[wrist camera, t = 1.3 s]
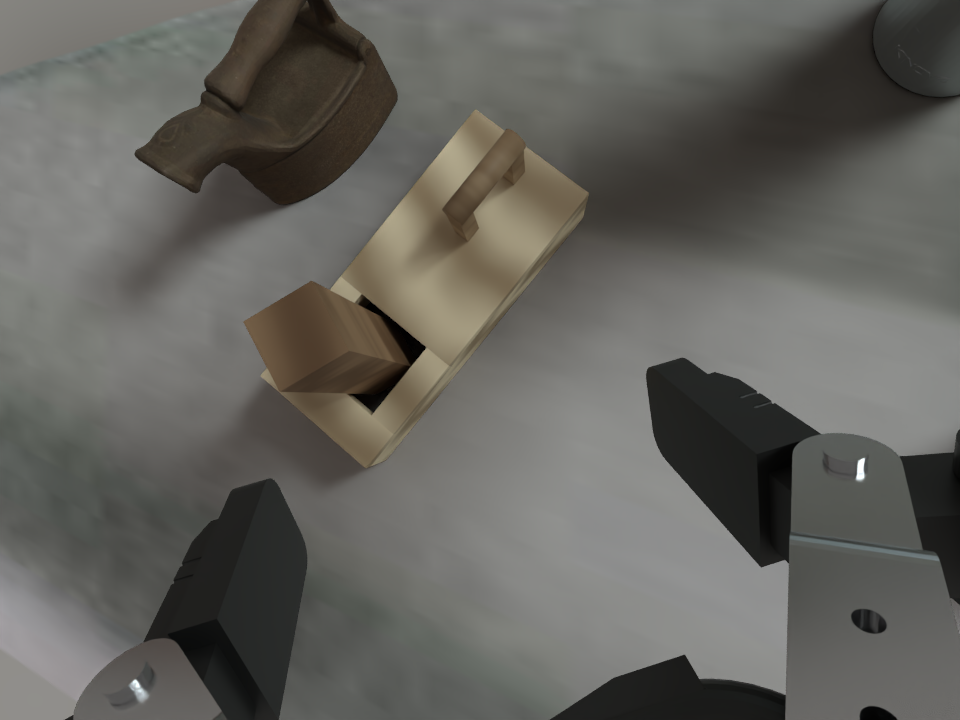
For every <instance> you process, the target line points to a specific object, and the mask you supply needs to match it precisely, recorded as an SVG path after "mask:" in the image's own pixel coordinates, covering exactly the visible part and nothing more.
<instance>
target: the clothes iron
mask: <svg viewBox="0 0 960 720" xmlns="http://www.w3.org/2000/svg"><path fill="white" fill-rule="evenodd" d="M306 1H307V2H306ZM204 84H205V87H206V91H204V92H203V93H202V94H201V103H200V105H199V106H198V107H195V108H192V109H190V110H187V111H184V112H182V113H181V114H179V115H177V116H175V117H173V118H171V119H170V120H168V121H167V122H166V123H165V124H164V125H163V126H162V127H161V128H160V129H159V130H158V131H157V132H156V133H155V135H154V136H153V137H152V139H151V140H150V141H149V142H148V143H147V144H146V145H145V146H143V147H141V148H139V149H137V150H136V151H135V156H136V157H137V158H138V159H139V160H140V161H142V162H143V163H145V164H146V165H148V166H149V167H151V168H152V169H154V170H155V171H157V172H158V173H160V174H162V175H164V176H165V177H167V178H169V179H171V180H172V181H174V182H176V183H178V184H179V185H181V186H183V187H185V188H187V189H188V190H189V191H191V192H193V193H198V192H199V191H200V188H201V185H202V181H203V180H204V178H205V177H206V176H207V175H208V174H209V173H210V172H211V171H212V170H213V169H214V168H215V167H217V166H218V165H220V164H221V163H226V164H228V165H230V166H232V167H234V168H236V169H238V170H239V172H240V173H241V174H242V175H243V176H244V177H245V178H246V179H247V180H248V181H250V182H251V183H252V184H253V185H254V186H255V187H256V188H257V189H259V190H260V191H261V192H263V193H264V194H265V195H267V196H268V197H269V198H270V199H271V200H272V201H274V202H275V203H277V204H289V203H293V202H297V201H300V200H302V199H305V198H307V197H309V196H311V195H313V194H315V193H317V192H319V191H320V190H322V189H323V188H325V187H326V186H328V185H329V184H331V183H332V182H333V181H335V180H336V179H337V178H338V177H340V176H341V175H342V174H343V173H344V172H345V171H346V170H347V169H348V168H349V167H350V166H351V165H352V164H353V163H354V162H355V161H356V160H357V159H358V158H359V157H360V156H361V154H362V153H363V152H364V151H365V150H366V148H367V147H368V146H369V144H370V143H371V142H372V140H373V139H374V138H375V136H376V135H377V133H378V132H379V130H380V129H381V127H382V126H383V124H384V122H385V121H386V119H387V118H388V116H389V114H390V113H391V111H392V109H393V107H394V106H395V104H396V102H397V97H398V95H397V91H396V88H395V86H394V84H393V82H392V80H391V78H390V76H389V74H388V72H387V70H386V68H385V66H384V64H383V62H382V60H381V58H380V56H379V54H378V52H377V50H376V48H375V46H374V45H373V44H372V42H371V41H370V40H368V39H366V37H365V36H364V35H363V34H361V33H360V32H359V31H357V30H355V29H354V28H352V27H351V26H349V25H348V24H346V23H345V22H344V21H343V20H342V19H341V18H340V17H339V16H338V14H337V13H336V11H335V9H334V8H333V6H332V5H331V3H330V1H329V0H258V1H257V2H256V4H255V5H254V6H253V7H252V8H251V10H250V11H249V12H248V13H247V15H246V17H245V18H244V20H243V22H242V24H241V25H240V27H239V29H238V31H237V34H236V36H235V39H234V41H233V43H232V46H231V48H230V50H229V51H228V53H227V54H226V55H225V57H224V58H223V59H222V61H221V62H220V63H219V64H218V65H217V66H216V68H214V69H213V70H212V71H211V72H210V73H209V74H208V75H207V77H206V78H205V80H204Z"/></svg>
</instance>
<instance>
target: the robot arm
mask: <svg viewBox="0 0 960 720" xmlns="http://www.w3.org/2000/svg"><path fill="white" fill-rule="evenodd" d="M873 45H874V49H875V54H876V57H877V59H878V61H879V63H880V65H881V67H882V68H883V69H884V71H885V72H886V73H887V74H888V76H889V77H890V78H891V79H893V80H894V81H895V82H896V83H898V84H899V85H900V86H902V87H904V88H906V89H908V90H910V91H912V92H915V93H918V94H922V95H925V96H934V97H947V96H956V95H959V94H960V0H888V1H887V2H886V3H885V4H884V5H883V7H882V8H881V10H880V12H879V14H878V16H877V18H876V22H875V26H874V30H873ZM646 380H647V388H648V396H649V404H650V412H651V419H652V427H653V433H654V437H655V441H656V443H657V446H658V448H659V450H660V452H661V454H662V455H663V457H664V458H665V460H666V461H667V462H668V463H669V464H670V465H671V466H672V467H673V469H674V470H675V471H676V472H677V473H678V474H679V475H680V476H681V478H682V479H683V480H684V481H685V482H686V483H687V484H688V486H689V487H690V488H691V489H692V490H693V491H694V492H695V493H696V495H697V496H698V497H699V498H700V499H701V500H702V501H703V502H704V504H705V505H706V506H707V507H708V508H709V509H710V510H711V511H712V513H713V514H714V515H715V516H716V517H717V518H718V519H719V520H720V522H721V523H722V524H723V525H724V526H725V527H726V528H727V530H728V531H729V532H730V533H731V534H732V535H733V536H734V537H735V539H736V540H737V541H738V542H739V543H740V544H741V545H742V546H743V548H744V549H745V550H746V551H747V552H748V553H749V554H750V555H751V557H752V558H753V559H754V560H755V561H756V562H757V563H758V564H759V566H760V567H764V566H767V565H770V564H773V563H776V562H779V561H782V560H786V561H787V562H788V563H789V582H788V625H787V667H786V695H784V694H781V693H778V692H776V691H773V690H771V689H767V688H764V687H760V686H757V685H753V684H749V683H744V682H738V681H733V680H722V679H699V678H698V676H697V675H696V673H695V671H694V669H693V668H692V666H691V664H690V663H689V661H688V659H687V657H686V656H685V655H682V656H679V657H676V658H673V659H670V660H667V661H664V662H661V663H658V664H655V665H652V666H649V667H646V668H643V669H640V670H637V671H634V672H631V673H627V674H624V675H621V676H618V677H615V678H613V679H611V680H610V681H608V682H607V683H605V684H604V685H602V686H601V687H599V688H598V689H596V690H595V691H593V692H592V693H590V694H589V695H587V696H585V697H584V698H582V699H581V700H579V701H578V702H576V703H575V704H573V705H572V706H570V707H569V708H567V709H566V710H564V711H563V712H561V713H560V714H558V715H557V716H555V717H553V718H552V719H550V720H960V635H959V631H958V627H957V624H956V620H955V616H954V612H953V608H952V605H951V601H950V598H953V599H954V600H955V601H956V602H957V603H958V604H960V430H959V431H958V433H957V435H956V442H955V450H954V453H941V454H928V455H915V456H898V455H897V453H896V452H894V451H893V450H892V449H891V448H889V447H888V446H886V445H885V444H882V443H880V442H878V441H876V440H873V439H870V438H867V437H863V436H859V435H854V434H845V433H827V434H820V433H819V432H817V431H816V430H814V429H813V428H811V427H810V426H808V425H807V424H805V423H804V422H802V421H801V420H799V419H798V418H796V417H795V416H793V415H792V414H790V413H789V412H787V411H786V410H784V409H783V408H781V407H780V406H778V405H777V404H775V403H774V404H772V402H771V400H769V399H768V398H766V397H765V396H763V395H762V394H760V393H759V394H757V391H756V390H754V389H753V388H751V387H750V386H748V385H747V384H745V383H744V382H742V381H741V380H739V379H736V378H733V377H729V376H726V375H723V374H719V373H716V372H714V373H711V374H707V373H705V372H704V371H703V370H701V369H700V368H698V367H697V366H696V365H694V364H693V363H691V362H690V361H689V360H687V359H685V358H679V359H676V360H673V361H669V362H666V363H662V364H659V365H656V366H652V367H649V368H648V369H647V373H646ZM182 564H183V566H181V567H180V568H179V570H178V572H177V574H176V576H175V578H174V584H172V585H171V587H170V589H169V591H168V593H167V595H166V597H165V599H164V601H163V603H162V605H161V607H160V609H159V611H158V613H157V615H156V617H155V619H154V622H153V624H152V626H151V628H150V630H149V632H148V634H147V636H146V638H145V640H144V642H143V643H141V644H139V645H137V646H135V647H133V648H131V649H129V650H128V651H126V652H124V653H123V654H121V655H120V656H118V657H117V658H116V659H114V660H113V661H112V662H110V663H109V664H108V665H107V666H106V667H105V668H103V669H102V670H101V671H100V672H99V673H98V674H97V675H96V676H95V677H94V679H93V680H92V681H91V682H90V683H89V685H88V686H87V687H86V689H85V690H84V692H83V693H82V695H81V696H80V698H79V700H78V702H77V704H76V707H75V710H74V715H72V716H71V717H69V718H67V719H65V720H279V715H280V710H281V704H282V699H283V694H284V688H285V683H286V678H287V672H288V667H289V661H290V656H291V651H292V645H293V640H294V635H295V629H296V624H297V618H298V613H299V608H300V602H301V597H302V592H303V586H304V581H305V575H306V570H307V551H306V546H305V542H304V539H303V537H302V534H301V532H300V530H299V528H298V526H297V524H296V522H295V520H294V517H293V515H292V513H291V511H290V509H289V507H288V505H287V503H286V501H285V499H284V496H283V494H282V492H281V490H280V488H279V486H278V485H277V483H276V482H275V481H274V480H273V479H266V480H263V481H259V482H256V483H252V484H249V485H246V486H242V487H239V488H235V489H233V490H232V491H231V492H230V494H229V497H228V499H227V501H226V503H225V506H224V508H223V510H222V512H221V515H220V517H219V519H217V520H213V521H211V522H210V523H209V524H208V525H207V526H206V527H205V528H204V530H203V531H202V532H201V533H200V534H199V535H198V536H197V537H196V538H195V539H194V541H193V542H192V543H191V545H190V547H189V550H188V552H187V554H186V556H185V558H184V560H183V562H182Z"/></svg>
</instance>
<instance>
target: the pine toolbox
mask: <svg viewBox="0 0 960 720" xmlns="http://www.w3.org/2000/svg"><path fill="white" fill-rule="evenodd" d="M588 196H589V193H588V192H587V191H585V190H584V189H583V188H581V187H580V186H578V185H577V184H576V183H574V182H573V181H572V180H570V179H569V178H568V177H566V176H565V175H564V174H562V173H561V172H560V171H558V170H557V169H556V168H554V167H553V166H551V165H550V164H549V163H547V162H546V161H545V160H543V159H542V158H541V157H539V156H538V155H537V154H535V153H534V152H533V151H531V150H530V149H528V148H527V147H526V144H525V142H524V141H523V139H522V138H521V137H520V136H519V135H518V134H517V133H515V132H514V131H512V130H510V129H506V130H505V131H504V130H503V129H501V128H500V127H499V126H497V125H496V124H495V123H493V122H492V121H491V120H489V119H488V118H487V117H485V116H484V115H482V114H481V113H480V112H478V111H477V110H476V109H475V110H474V111H473V113H472V114H471V115H470V116H469V118H468V119H467V120H466V121H465V123H464V124H463V125H462V126H461V128H460V129H459V130H458V131H457V133H456V134H455V135H454V136H453V137H452V139H451V140H450V141H449V142H448V144H447V145H446V146H445V147H444V149H443V150H442V151H441V152H440V154H439V155H438V156H437V157H436V159H435V160H434V161H433V162H432V164H431V165H430V166H429V167H428V169H427V170H426V171H425V172H424V173H423V175H422V176H421V177H420V178H419V180H418V181H417V182H416V183H415V185H414V186H413V187H412V188H411V190H410V191H409V192H408V193H407V195H406V196H405V197H404V198H403V200H402V201H401V202H400V203H399V204H398V206H397V207H396V208H395V209H394V211H393V212H392V213H391V214H390V216H389V217H388V218H387V219H386V221H385V222H384V223H383V224H382V226H381V227H380V228H379V229H378V231H377V232H376V233H375V234H374V236H373V237H372V238H371V239H370V240H369V242H368V243H367V244H366V245H365V247H364V248H363V249H362V250H361V252H360V253H359V254H358V255H357V257H356V258H355V259H354V260H353V262H352V263H351V264H350V265H349V267H348V268H347V269H346V270H345V271H344V273H343V274H342V275H341V276H340V278H339V279H338V280H337V281H336V283H335V284H334V285H333V286H332V288H331V289H330V291H332V292H334V293H336V294H338V295H340V296H342V297H344V298H346V299H348V300H350V301H352V302H354V303H356V304H358V305H360V306H361V307H363V308H365V307H366V306H367V305H368V304H369V302H370V301H371V302H372V303H373V304H375V305H376V306H377V307H378V308H379V309H381V310H382V311H383V312H384V313H385V314H387V315H388V316H389V317H390V318H392V319H393V320H394V321H395V322H396V323H398V324H399V325H400V326H401V327H402V328H404V329H405V330H406V331H407V332H408V333H410V334H411V335H412V336H413V337H415V338H416V339H417V340H418V341H419V342H421V343H422V344H423V345H424V346H425V347H427V348H426V349H425V350H424V351H423V353H422V354H421V355H420V356H419V358H418V359H417V360H416V361H415V363H414V364H413V365H412V366H411V367H410V369H409V370H408V371H407V372H406V374H405V375H404V376H403V377H402V379H401V380H400V381H399V382H398V384H397V385H396V386H395V387H394V388H393V390H392V391H391V392H390V393H389V395H388V396H387V397H386V398H385V400H384V401H383V402H382V403H381V404H380V406H379V407H378V408H377V409H376V411H375V412H374V413H373V412H372V411H371V410H369V409H368V408H367V407H366V406H365V405H364V404H362V403H361V402H360V401H359V400H358V399H357V398H355V397H354V396H353V395H352V394H346V393H305V392H279V390H278V388H277V386H276V384H275V382H274V380H273V378H272V376H271V374H270V372H269V370H268V369H267V368H266V370H265V371H264V372H263V373H262V374H261V377H262V378H263V379H265V380H266V381H267V382H268V383H269V384H270V385H271V386H272V387H274V388H275V389H276V390H277V391H278V392H279V393H280V394H282V395H283V396H284V397H285V398H286V399H287V400H288V401H290V402H291V403H292V404H293V405H294V406H295V407H296V408H297V409H299V410H300V411H301V412H302V413H303V414H304V415H305V416H307V417H308V418H309V419H310V420H311V421H312V422H313V423H315V424H316V425H317V426H318V427H319V428H320V429H321V430H322V431H324V432H325V433H326V434H327V435H328V436H329V437H330V438H332V439H333V440H334V441H335V442H336V443H337V444H338V445H340V446H341V447H342V448H343V449H344V450H345V451H346V452H347V453H349V454H350V455H351V456H352V457H353V458H354V459H355V460H357V461H358V462H359V463H360V464H361V465H362V466H363V467H364V468H368V467H371V466H373V465H376V464H378V463H381V462H383V461H386V460H387V459H388V457H389V456H390V455H391V454H392V453H393V451H394V450H395V449H396V448H397V446H398V445H399V444H400V443H401V441H402V440H403V439H404V438H405V437H406V435H407V434H408V433H409V432H410V430H411V429H412V428H413V427H414V425H415V424H416V423H417V422H418V421H419V419H420V418H421V417H422V416H423V414H424V413H425V412H426V411H427V409H428V408H429V407H430V406H431V405H432V403H433V402H434V401H435V400H436V398H437V397H438V396H439V395H440V393H441V392H442V391H443V390H444V389H445V387H446V386H447V385H448V384H449V382H450V381H451V380H452V379H453V377H454V376H455V375H456V374H457V373H458V371H459V370H460V369H461V368H462V366H463V365H464V364H465V363H466V361H467V360H468V359H469V358H470V357H471V355H472V354H473V353H474V352H475V350H476V349H477V348H478V347H479V345H480V344H481V343H482V342H483V341H484V339H485V338H486V337H487V336H488V334H489V333H490V332H491V331H492V329H493V328H494V327H495V326H496V325H497V323H498V322H499V321H500V320H501V318H502V317H503V316H504V315H505V313H506V312H507V311H508V310H509V309H510V307H511V306H512V305H513V304H514V302H515V301H516V300H517V299H518V297H519V296H520V295H521V294H522V293H523V291H524V290H525V289H526V288H527V286H528V285H529V284H530V283H531V281H532V280H533V279H534V278H535V277H536V275H537V274H538V273H539V272H540V270H541V269H542V268H543V267H544V265H545V264H546V263H547V262H548V260H549V259H550V258H551V257H552V256H553V254H554V253H555V252H556V251H557V249H558V248H559V247H560V246H561V244H562V243H563V242H564V241H565V240H566V238H567V237H568V236H569V235H570V233H571V232H572V231H573V230H574V228H575V227H576V226H577V225H578V224H579V222H580V221H581V220H582V219H583V216H584V212H585V208H586V204H587V200H588Z"/></svg>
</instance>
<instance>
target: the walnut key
mask: <svg viewBox="0 0 960 720" xmlns="http://www.w3.org/2000/svg"><path fill="white" fill-rule="evenodd" d="M244 324H245V326H246V328H247V330H248V332H249V334H250V336H251V338H252V339H253V341H254V343H255V345H256V347H257V349H258V351H259V353H260V355H261V357H262V359H263V361H264V363H265V365H266V367H267V369H268V370H269V372H270V374H271V376H272V378H273V380H274V382H275V384H276V386H277V388H278V390H279V392H305V393H346V394H378V393H380V392H382V391H383V390H385V389H387V388H389V387H390V386H392V385H394V384H396V383H397V382H399V381H400V380H401V379H402V377H403V376H404V375H405V374H406V372H407V371H408V370H409V369H410V367H411V366H412V365H413V364H414V363H415V361H416V359H415V357H414V355H413V353H412V352H411V350H410V348H409V346H408V344H407V343H406V341H405V339H404V337H403V335H402V334H401V332H400V330H399V328H398V326H397V325H396V324H394V323H392V322H391V321H389V320H387V319H385V318H383V317H381V316H379V315H377V314H375V313H373V312H371V311H369V310H367V309H365V308H363V307H361V306H360V305H358V304H356V303H354V302H352V301H350V300H348V299H346V298H344V297H342V296H340V295H338V294H336V293H334V292H332V291H330V290H328V289H327V288H325V287H323V286H321V285H319V284H317V283H315V282H313V281H310V282H309V283H307V284H305V285H304V286H302V287H300V288H299V289H297V290H295V291H294V292H292V293H290V294H289V295H287V296H285V297H284V298H282V299H280V300H279V301H277V302H275V303H274V304H272V305H270V306H269V307H267V308H265V309H264V310H262V311H260V312H259V313H257V314H255V315H254V316H252V317H250V318H249V319H247V320H245V321H244Z"/></svg>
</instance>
